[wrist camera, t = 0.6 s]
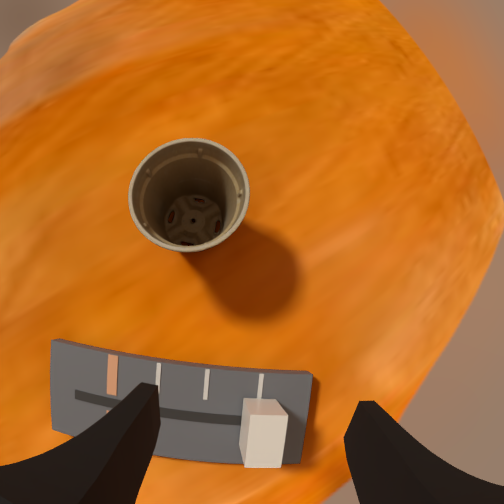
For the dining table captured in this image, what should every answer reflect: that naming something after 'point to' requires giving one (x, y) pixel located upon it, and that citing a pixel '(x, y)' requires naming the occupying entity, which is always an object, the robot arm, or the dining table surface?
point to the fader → (262, 433)
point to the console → (175, 399)
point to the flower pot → (189, 194)
